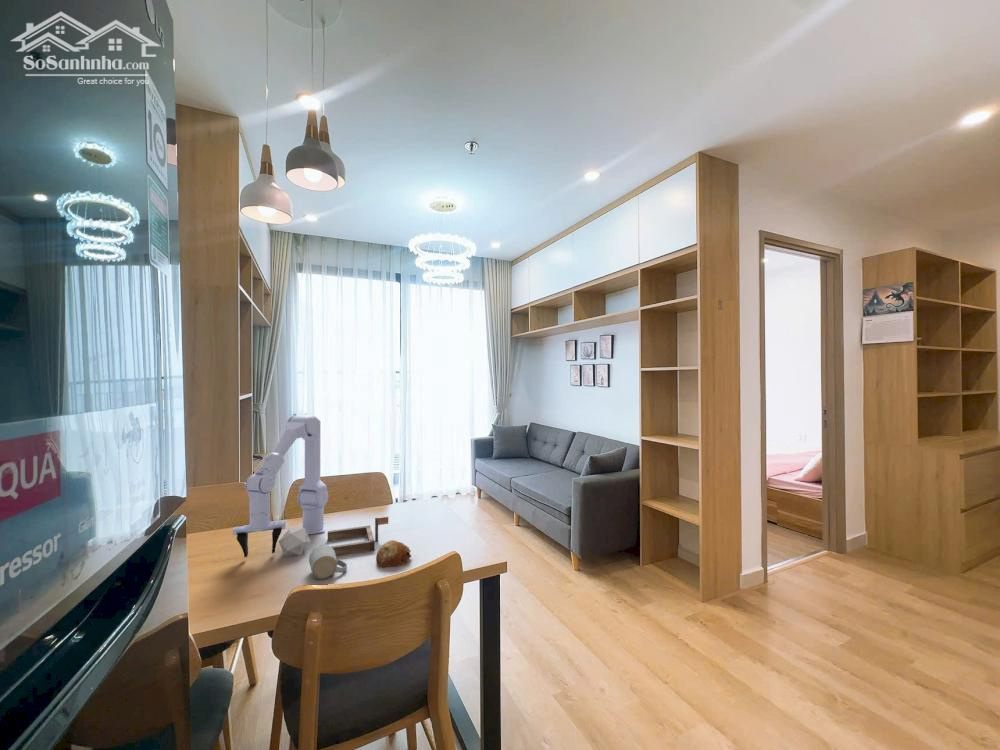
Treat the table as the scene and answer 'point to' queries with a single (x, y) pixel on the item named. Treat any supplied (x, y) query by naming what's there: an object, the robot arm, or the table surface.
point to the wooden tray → (356, 532)
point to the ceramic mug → (325, 562)
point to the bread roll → (393, 554)
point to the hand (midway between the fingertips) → (260, 553)
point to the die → (294, 541)
